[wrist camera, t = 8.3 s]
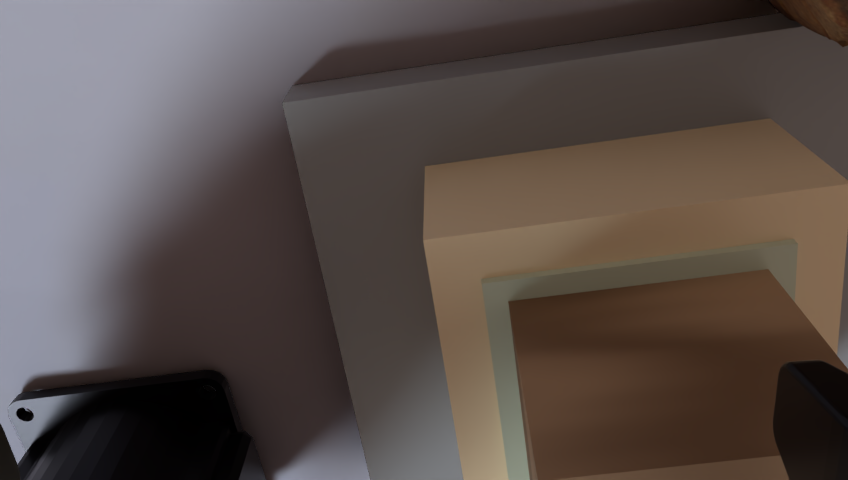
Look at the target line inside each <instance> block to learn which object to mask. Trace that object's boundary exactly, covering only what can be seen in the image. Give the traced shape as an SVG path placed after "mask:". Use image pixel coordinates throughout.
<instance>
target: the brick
mask: <svg viewBox="0 0 848 480" xmlns="http://www.w3.org/2000/svg"><path fill="white" fill-rule="evenodd" d="M769 1H770V2H771V4H772V5H773V6H774V7H775V8H776V9H777V10H778V11H779V12H780V13H781V14H783V15H784V16H785V17H787V18H788V19H789V20H792V21H796V22H798V23H799V24H801V25H803V26H804V27H806V28H808V29H809V30H811V31H813V32H815V33H817V34H819V35H822V36H824V37H827V38H828V39H829V40H833V41H835V42H837V43H838V44H839V45H841V46H842V47H845V46H848V0H769Z"/></svg>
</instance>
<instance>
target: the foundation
mask: <svg viewBox="0 0 848 480" xmlns="http://www.w3.org/2000/svg"><path fill="white" fill-rule="evenodd" d="M282 105H283V109H284V113H285V118H286V122H287V126H288V130H289V135H290V139H291V143H292V147H293V152H294V156H295V160H296V165H297V169H298V173H299V177H300V182H301V186H302V190H303V194H304V199H305V203H306V207H307V211H308V216H309V220H310V224H311V229H312V233H313V237H314V241H315V246H316V250H317V254H318V258H319V263H320V267H321V271H322V275H323V280H324V284H325V288H326V293H327V297H328V301H329V305H330V310H331V314H332V318H333V322H334V327H335V331H336V335H337V339H338V344H339V348H340V352H341V357H342V361H343V365H344V369H345V374H346V378H347V382H348V386H349V391H350V395H351V399H352V403H353V408H354V412H355V416H356V421H357V425H358V429H359V433H360V438H361V442H362V446H363V450H364V455H365V459H366V463H367V467H368V472H369V476H370V480H530V478H529V470H528V462H527V453H526V445H525V437H524V428H523V420H522V412H521V403H520V395H519V387H518V379H517V370H516V362H515V354H514V345H513V337H512V329H511V320H510V312H509V304H508V301H515V300H523V299H531V298H539V297H547V296H555V295H563V294H571V293H580V292H588V291H596V290H604V289H612V288H620V287H628V286H636V285H644V284H652V283H660V282H668V281H676V280H685V279H693V278H701V277H709V276H717V275H725V274H733V273H741V272H749V271H757V270H765V269H769V271H770V272H771V273H772V274H773V276H774V277H775V278H776V279H777V281H778V282H779V283H780V284H781V286H782V287H783V288H784V289H785V291H786V292H787V293H788V294H789V296H790V297H791V298H792V299H793V301H794V302H795V303H796V304H797V306H798V307H799V308H800V309H801V311H802V312H803V313H804V315H805V316H806V317H807V318H808V320H809V321H810V322H811V323H812V325H813V326H814V327H815V328H816V330H817V331H818V332H819V333H820V335H821V336H822V337H823V338H824V340H825V341H826V342H827V343H828V345H829V346H830V347H831V348H832V350H833V351H834V352H835V353H836V355H837V356H838V357H839V358H840V360H841V361H842V362H843V363H844V365H845V366H846V367H847V368H848V46H845V47H842V46H841V45H839V44H838V43H837V42H835V41H833V40H829V39H828V38H827V37H824V36H822V35H819V34H817V33H815V32H813V31H811V30H809V29H808V28H806V27H804V26H803V25H801V24H799V23H798V22H796V21H792V20H789V19H788V18H787V17H785V16H784V15H783V14H781V13H778V14H772V15H765V16H758V17H751V18H745V19H738V20H731V21H725V22H718V23H711V24H704V25H698V26H691V27H684V28H677V29H671V30H664V31H657V32H650V33H644V34H637V35H630V36H623V37H617V38H610V39H603V40H596V41H590V42H583V43H576V44H569V45H563V46H556V47H549V48H542V49H536V50H529V51H522V52H516V53H509V54H502V55H495V56H489V57H482V58H475V59H468V60H462V61H455V62H448V63H441V64H435V65H428V66H421V67H414V68H408V69H401V70H394V71H387V72H381V73H374V74H367V75H360V76H354V77H347V78H340V79H333V80H327V81H320V82H313V83H307V84H300V85H293V86H292V87H291V89H290V90H289V92H288V94H287V95H286V97H285V99H284V101H283V102H282Z"/></svg>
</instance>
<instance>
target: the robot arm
mask: <svg viewBox="0 0 848 480" xmlns="http://www.w3.org/2000/svg"><path fill="white" fill-rule="evenodd" d="M204 385H208V386H211V387H213V388H214V389H215V390H216V391H208V390H206V389H205V388H204V387H203V386H204ZM24 408H28V409H30V410H31V411H32V412H33V413H29V412H28V411H26V410H25V409H24ZM8 416H9V418H10V420H11V423H12V425H13V427H14V429H15V431H16V433H17V435H18V438H19V440H20V442H21V444H22V446H23V448H24V450H25V454H24V456H23V457H22V459H21V460H20V462H19V463H18V465H17V462H16V460H15V457H14V455H13V452H12V450H11V447H10V445H9V442H8V440H7V437H6V435H5V432H4V430H3V428H2V426H1V424H0V480H266V479H265V475H264V472H263V469H262V466H261V462H260V459H259V456H258V453H257V449H256V446H255V443H254V440H253V437H252V436H250V435H249V434H248V433H247V432H246V431H243V429H242V426H241V423H240V420H239V416H238V413H237V410H236V407H235V404H234V400H233V397H232V394H231V391H230V388H229V385H228V382H227V380H226V378H225V377H224V376H223V375H222V374H221V373H219V372H216V371H213V370H204V371H195V372H187V373H179V374H171V375H163V376H155V377H146V378H138V379H130V380H122V381H114V382H106V383H97V384H89V385H81V386H73V387H65V388H57V389H48V390H40V391H32V392H25V393H21V394H19V395H18V396H17V397H16V398H15V399H14V400H13V402H12V403H11V404H10V406H9V408H8ZM773 433H774V438H775V442H776V445H777V448H778V450H779V453H780V456H781V459H782V461H783V464H784V467H785V469H786V472H787V475H788V478H789V480H848V373H846V372H844V371H842V370H840V369H839V368H837V367H835V366H833V365H831V364H829V363H827V362H825V361H822V360H802V361H788V362H786V363H784V364H783V365H782V366H781V368H780V370H779V374H778V381H777V389H776V398H775V406H774V415H773Z"/></svg>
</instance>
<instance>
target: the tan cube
mask: <svg viewBox="0 0 848 480" xmlns="http://www.w3.org/2000/svg"><path fill="white" fill-rule="evenodd" d="M508 304H509V312H510V320H511V329H512V337H513V345H514V354H515V362H516V370H517V379H518V387H519V395H520V403H521V412H522V420H523V428H524V437H525V445H526V453H527V462H528V470H529V478H530V480H789V478H788V475H787V472H786V469H785V467H784V464H783V461H782V459H781V456H780V453H779V450H778V448H777V445H776V442H775V438H774V433H773V415H774V406H775V398H776V389H777V381H778V374H779V370H780V368H781V366H782V365H783V364H784V363H786V362H788V361H802V360H822V361H825V362H827V363H829V364H831V365H833V366H835V367H837V368H839V369H840V370H842V371H844V372H846V373H848V368H847V367H846V366H845V365H844V363H843V362H842V361H841V360H840V358H839V357H838V356H837V355H836V353H835V352H834V351H833V350H832V348H831V347H830V346H829V345H828V343H827V342H826V341H825V340H824V338H823V337H822V336H821V335H820V333H819V332H818V331H817V330H816V328H815V327H814V326H813V325H812V323H811V322H810V321H809V320H808V318H807V317H806V316H805V315H804V313H803V312H802V311H801V309H800V308H799V307H798V306H797V304H796V303H795V302H794V301H793V299H792V298H791V297H790V296H789V294H788V293H787V292H786V291H785V289H784V288H783V287H782V286H781V284H780V283H779V282H778V281H777V279H776V278H775V277H774V276H773V274H772V273H771V272H770V271H769V269H765V270H757V271H749V272H741V273H733V274H725V275H717V276H709V277H701V278H693V279H685V280H676V281H668V282H660V283H652V284H644V285H636V286H628V287H620V288H612V289H604V290H596V291H588V292H580V293H571V294H563V295H555V296H547V297H539V298H531V299H523V300H515V301H508Z"/></svg>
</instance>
